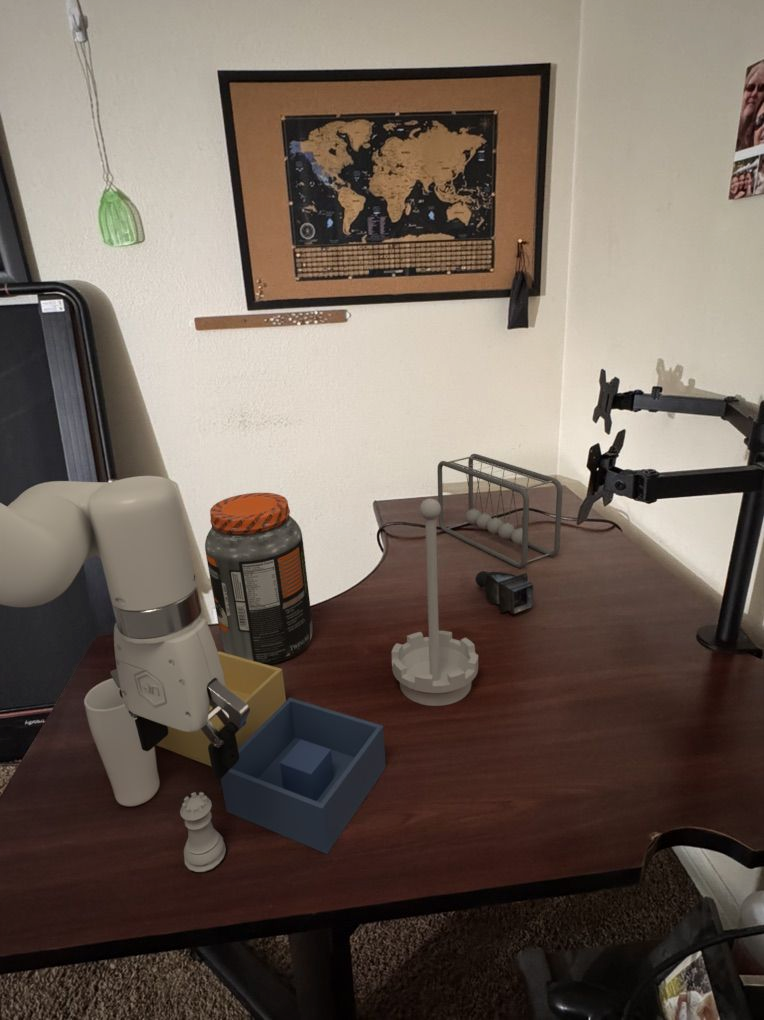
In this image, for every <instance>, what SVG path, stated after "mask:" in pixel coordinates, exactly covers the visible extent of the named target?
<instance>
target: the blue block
mask: <svg viewBox="0 0 764 1020" xmlns="http://www.w3.org/2000/svg"><path fill="white" fill-rule="evenodd" d="M280 769H281V776H282V783H283V789H286V790H288V791H291V792H294V793H296V794H299V795H301V796H304V797H307V798H309V799H312V800H314V801H317V800H318V798H319V797H320V796H321V794H322V793H323V792H324V790H325V789H326V788H327V786H328V785H329V784H330V783H331V781H332V780H333V779H334V775H333V765H332V755H331V749H328V748H325V747H322V746H319V745H316V744H313V743H310V742H307V741H304V740H301V739H300V741H299V742H298V743H297V744H296V745H295V746H294V747H293V748H292V750H291V751H290V752H289V753H288V754H287V755H286V756H285V757H284V759H283V760H282V761H281V762H280Z"/></svg>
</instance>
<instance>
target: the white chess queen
mask: <svg viewBox="0 0 764 1020" xmlns="http://www.w3.org/2000/svg"><path fill="white" fill-rule="evenodd" d="M190 796H191V797H189V796H185V797H184V799H183V802H182V803H181V805H182V806H181V808H180V809H179V814H180V817H181V818H182V819H183V820H184V826H185V827H186V829H187V840H186V842H185V845H184V848H183V859H184V865H185V867H186V868H187V869H188V870H190V871H193V872H195V873H206V872H210V871H212V870H213V869H215V868H216V867H217V866H218V865H219V864H220V863H221V861H222V860H223V859H224V858H225V855H226V851H227V849H226V844H225V842H224V841H225V840H224V837H223V836H222V835H221V833H220V832H219V831H217V830H216V829H215V828H214V826H213V824H212V821H211V820H212V817H213V816H212V812H211V809H212V806H213V805H212V800H210V798H209V797H208V796H207V795H205V793H204V792H202V791H199V793H198V794H197V791H196V792H195V791H194V792H192V793H190Z"/></svg>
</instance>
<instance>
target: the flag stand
mask: <svg viewBox="0 0 764 1020" xmlns="http://www.w3.org/2000/svg"><path fill="white" fill-rule="evenodd" d="M440 512H441V506H440V504H439V502H438V499H434V498H426V499H424V500H423V501H422V502H421V503H420V505H419V513H420V515H421V516H422V518H424V524H425V555H426V557H425V559H426V561H425V562H426V585H427V586H426V588H427V590H426V591H427V623H428V624H427V625H428V636H425V637H424V634H423V633H422V632H421V631H418V632H414V633H411V634H407V635H406V642H405V643H403V644H401V643H397V642H396V643H395V644H394V646H393V647H392V649H391V671H392V675H393V676H394V678H395V679H396V680H397V681H398V682H399V689H400V691H401V693H402V694H403V695H404V696H405V697H406V698H407V699H408V700H411V701H412V702H415V703H417V704H420V705H424V706H431V707H442V706H448V705H452V704H455V703H457V702H460V701H461V700H463V699H464V698H465V697H466V696H467V695H468V694H469V693H470V691H471V689H472V682H473V680H474V679H475V678H476V677H477V675H478V671H479V654H477V652H476V647H475V646H476V645H475V643H473V642H472V640H470V639H468V638H467V637H463V638H462V639H460V640H458V639H455V638H453V632H452V631H447V630H440V625H439V623H440V622H439V583H438V582H439V581H438V580H439V579H438V540H437V539H438V538H437V519H438V516H439V514H440Z"/></svg>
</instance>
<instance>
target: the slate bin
mask: <svg viewBox="0 0 764 1020" xmlns="http://www.w3.org/2000/svg"><path fill="white" fill-rule="evenodd" d="M300 739H301V740H304V741H307V742H310V743H313V744H316V745H319V746H322V747H325V748H328V749H331V755H332V765H333V775H334V779H333V780H332V781H331V783H330V784H329V785H328V786H327V788H326V789H325V790H324V792H323V793H322V794H321V796H320V797H319V798H318V800H317V801H314V800H312V799H309V798H307V797H304V796H301V795H299V794H296V793H294V792H291V791H288V790H286V789H283V783H282V776H281V769H280V762H281V761H282V760H283V759H284V757H285V756H286V755H287V754H288V753H289V752H290V751H291V750H292V748H293V747H294V746H295V745H296V744H297V743H298V742H299V741H300ZM238 752H239V760H238V762H237V763H236V764H235V765H234V766H233V767H232V768H231V769H230V770H229V771H228V772H227V773H226V774H225V775H224V776H223V777H222V778H221V779H220V783H221V789H222V794H223V800H224V805H225V809H226V813H228V814H231V815H233V816H235V817H238V818H241V819H243V820H245V821H247V822H250V823H252V824H254V825H257V826H259V827H262V828H264V829H267V830H268V831H271V832H273V833H276V834H278V835H280V836H282V837H285V838H288V839H290V840H293V842H296V843H299V844H302V845H304V846H306V847H309V848H311V849H313V850H316V851H318V852H320V853H323V854H325V855H328V854H329V853H330V851H331V850H332V849H333V847H334V845H335V844H336V842H337V841H338V840H339V838H340V837H341V835H342V834H343V832H344V831H345V829H346V828H347V826H348V825H349V823H351V820H352V819H353V817H354V816H355V815H356V813H357V811H358V810H359V808H361V805H362V804H363V802H364V801H365V799H366V798H367V796H368V795H369V793H370V792H371V791H372V789H373V787H374V786H375V785H376V783H377V781H378V780H379V779H380V777H381V776H382V774H383V773H384V771H385V770H386V768H387V765H386V764H387V763H386V749H385V731H384V725H383V724H378V723H375V722H372V721H369V720H365V719H362V718H358V717H355V716H352V715H350V714H346V713H342V712H340V711H336V710H332V709H329V708H325V707H323V706H319V705H316V704H313V703H310V702H306V701H303V700H299V699H295V698H293V697H288V698H287V699H286V702H285V703H284V704H283V705H282V706H281V707H280V708H279V709H278V710H277V711H276V712H275V713H274V714H273V715H272V716H271V717H270V718H269V719H268V720H267V721H266V722H265V723H264V724H263V725H262V726H261V727H260V728H259V729H258V730H257V731H256V732H255V733H254V734H253V735H252V736H251V737H250V738H249V739H248V740H247V741H246V742H245V743H244V744H243V745H242V746H241V747H240V748H239V749H238Z"/></svg>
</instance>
